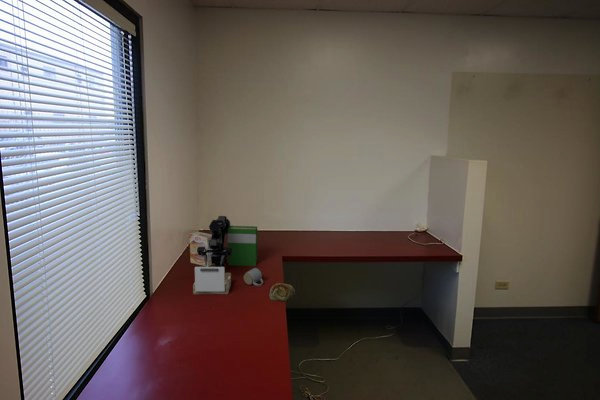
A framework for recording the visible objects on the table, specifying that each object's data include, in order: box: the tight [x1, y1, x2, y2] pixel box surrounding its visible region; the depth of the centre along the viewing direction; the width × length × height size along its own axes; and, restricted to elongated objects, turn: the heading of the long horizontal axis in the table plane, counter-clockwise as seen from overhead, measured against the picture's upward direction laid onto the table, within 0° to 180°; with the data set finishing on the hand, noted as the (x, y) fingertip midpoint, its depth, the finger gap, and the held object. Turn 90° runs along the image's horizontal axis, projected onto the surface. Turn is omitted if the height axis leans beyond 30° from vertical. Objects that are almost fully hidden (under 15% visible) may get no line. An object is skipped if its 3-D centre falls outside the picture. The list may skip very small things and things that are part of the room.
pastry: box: [268, 282, 296, 302], centre depth 191 cm, size 14×12×8 cm
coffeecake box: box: [189, 231, 214, 267], centre depth 233 cm, size 15×7×20 cm, turn 62°
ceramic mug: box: [243, 267, 264, 287], centre depth 206 cm, size 11×8×8 cm
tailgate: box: [194, 266, 226, 291], centre depth 189 cm, size 2×15×13 cm, turn 94°
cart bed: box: [192, 272, 232, 295], centre depth 198 cm, size 13×18×6 cm
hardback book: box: [227, 225, 258, 267], centre depth 234 cm, size 18×7×24 cm, turn 90°
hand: (213, 265), depth 198 cm, fingers open, 8 cm apart
